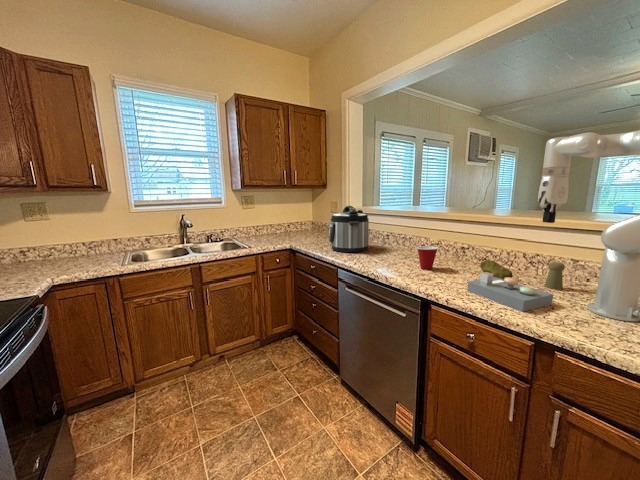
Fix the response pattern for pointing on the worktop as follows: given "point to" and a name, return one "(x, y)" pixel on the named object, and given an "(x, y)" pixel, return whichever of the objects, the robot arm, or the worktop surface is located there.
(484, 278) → the slider knob
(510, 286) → the peach knob
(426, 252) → the plastic cup
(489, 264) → the potato
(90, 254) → the worktop surface
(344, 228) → the pressure cooker
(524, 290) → the sage button
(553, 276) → the cork
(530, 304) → the panel
